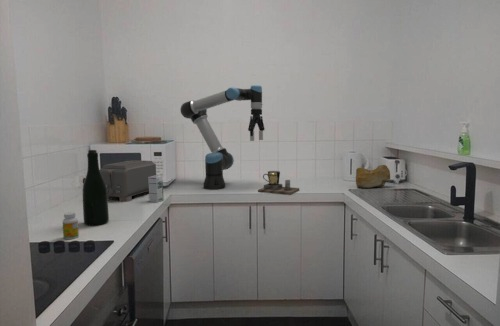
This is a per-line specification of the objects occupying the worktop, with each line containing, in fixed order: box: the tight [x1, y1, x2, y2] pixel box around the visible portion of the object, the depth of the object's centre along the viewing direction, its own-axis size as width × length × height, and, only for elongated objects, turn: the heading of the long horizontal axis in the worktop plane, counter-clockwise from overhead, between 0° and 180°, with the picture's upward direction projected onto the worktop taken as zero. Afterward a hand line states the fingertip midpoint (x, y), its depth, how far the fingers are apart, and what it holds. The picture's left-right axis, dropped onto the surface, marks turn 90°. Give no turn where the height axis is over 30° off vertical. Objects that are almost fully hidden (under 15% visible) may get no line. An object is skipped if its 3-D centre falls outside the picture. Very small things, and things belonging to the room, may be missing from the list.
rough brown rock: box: [355, 164, 391, 189], centre depth 249 cm, size 23×17×15 cm
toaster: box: [99, 159, 157, 203], centre depth 224 cm, size 19×35×20 cm, turn 160°
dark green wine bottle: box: [82, 149, 110, 226], centre depth 164 cm, size 10×10×33 cm
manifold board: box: [257, 179, 300, 196], centre depth 236 cm, size 22×16×8 cm
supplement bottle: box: [62, 211, 80, 240], centre depth 145 cm, size 5×5×10 cm
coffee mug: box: [262, 170, 281, 184], centre depth 255 cm, size 12×9×10 cm
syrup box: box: [148, 174, 165, 203], centre depth 209 cm, size 6×6×14 cm
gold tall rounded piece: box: [268, 173, 277, 186], centre depth 237 cm, size 5×5×10 cm
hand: (256, 140), depth 249 cm, fingers open, 13 cm apart
